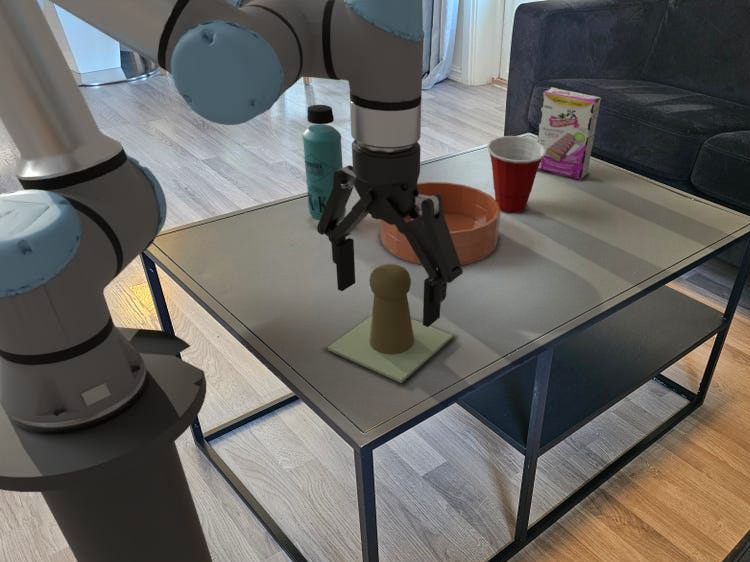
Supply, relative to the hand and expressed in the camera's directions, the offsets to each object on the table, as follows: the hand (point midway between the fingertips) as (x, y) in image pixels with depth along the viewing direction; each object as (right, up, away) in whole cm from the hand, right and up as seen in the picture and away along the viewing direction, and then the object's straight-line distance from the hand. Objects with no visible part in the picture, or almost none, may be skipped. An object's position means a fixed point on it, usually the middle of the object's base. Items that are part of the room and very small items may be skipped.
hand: (387, 303), depth 84 cm
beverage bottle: (-15, +17, +32) cm, 39 cm away
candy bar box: (+30, +34, +57) cm, 73 cm away
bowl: (+5, +14, +29) cm, 33 cm away
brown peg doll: (0, -5, +4) cm, 6 cm away
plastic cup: (+18, +22, +41) cm, 50 cm away
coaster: (0, -5, +4) cm, 7 cm away
